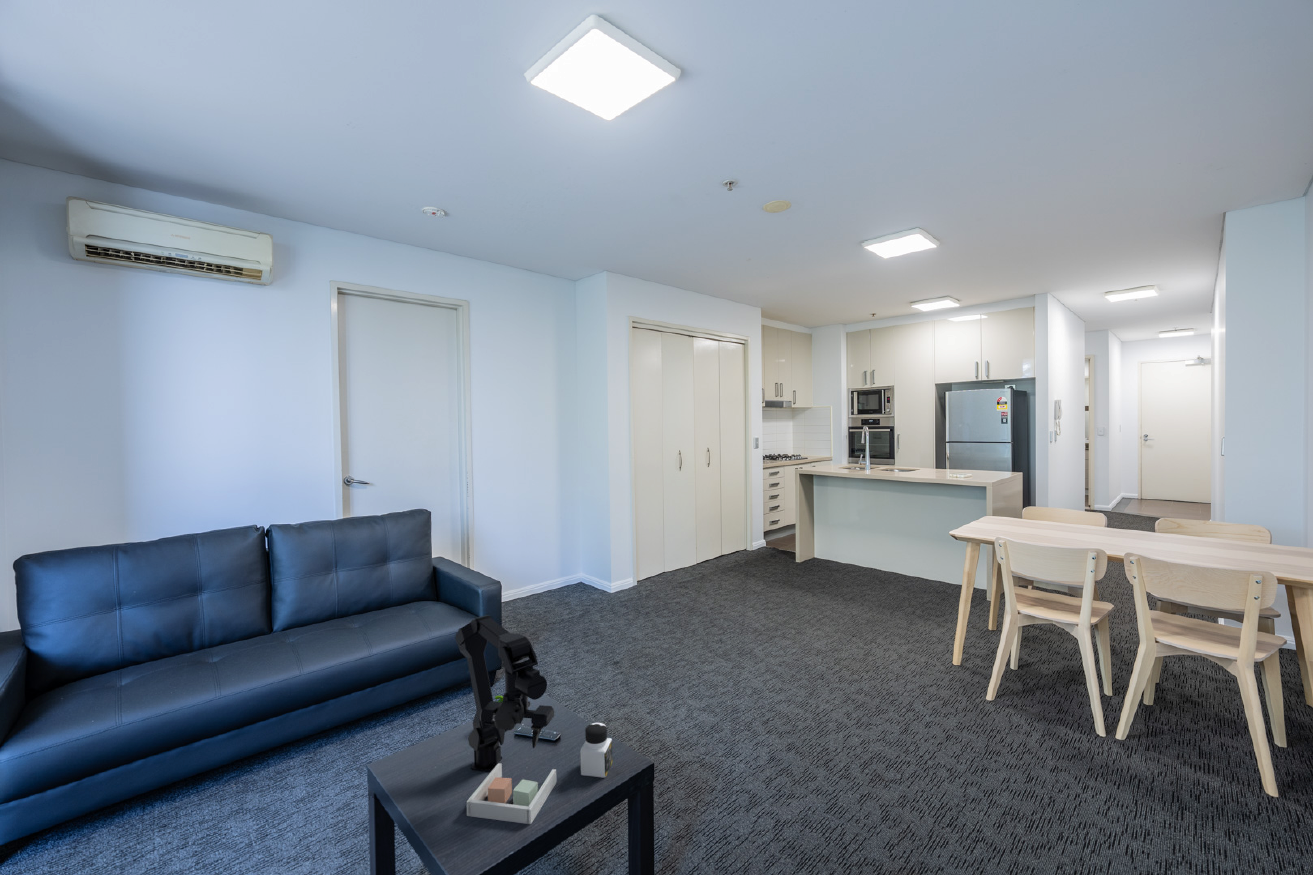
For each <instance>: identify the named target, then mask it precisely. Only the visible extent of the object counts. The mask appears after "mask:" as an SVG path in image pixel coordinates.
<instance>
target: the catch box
mask: <svg viewBox="0 0 1313 875" xmlns="http://www.w3.org/2000/svg"><path fill="white" fill-rule="evenodd" d="M502 765H503V764H502V763H500V762H499V763H498V764H497V765H496V767H495V768H494V769H493V770H492V771H490V772H489V774H488V775H487V776H486V777H485V778H484V780H483V781H482V782H481V784H480V785H479V786H478V787H477V788H476V790H475V791H473V793H472V794H471V796H470V797H469V798H468V800H467V801H466V816H467V817H472V818H473V817H474V818H479V819H480V818H481V819H488V820H489V819H490V820H497V821H504V822H512V823H517V824H518V823H519V824H525V825H526V824H527V825H532V823H533V821H534V820H535V819H536V817H537V815H538V814H539V812H540V811H541V809H542V806H544V804H545V802H546V801H547V799H548V797H549V795H550V794H551V792H552V790H553V789H554V787H555V785H556V784H557V769H554V768H552V769H551V771H550V773H549V774H548V776H547V777H546V779H545V780H544V782H543V784H542V785H541V787H540V788H539V789H538V793H537V794H536V796H535V797H534V799H533V800H532V802H531V803H530V805H529V806H521V805H513V804H511V803H506V804H505V803H497V802H489V801H488V800H485V799H486V797H488V787H489V786H490V784H491V783H492V781H493V780H494V778H495V777H499V778H503V767H502Z"/></svg>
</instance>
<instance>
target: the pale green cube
mask: <svg viewBox="0 0 1313 875" xmlns="http://www.w3.org/2000/svg"><path fill="white" fill-rule="evenodd" d="M538 784H539V782H537V781H534V780H528V779H521V780H520V782H519V783H518V784H517V785H516V786H515V787H514V789H512V802H513V805H521V806H529V805H530V803H531V802H532V800H533V799H534V797H535V796H536V794H537V793H538V791H539V785H538Z"/></svg>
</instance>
